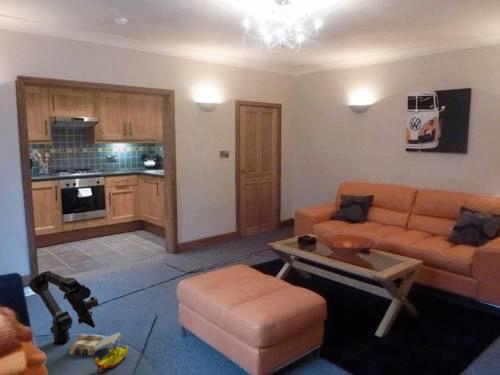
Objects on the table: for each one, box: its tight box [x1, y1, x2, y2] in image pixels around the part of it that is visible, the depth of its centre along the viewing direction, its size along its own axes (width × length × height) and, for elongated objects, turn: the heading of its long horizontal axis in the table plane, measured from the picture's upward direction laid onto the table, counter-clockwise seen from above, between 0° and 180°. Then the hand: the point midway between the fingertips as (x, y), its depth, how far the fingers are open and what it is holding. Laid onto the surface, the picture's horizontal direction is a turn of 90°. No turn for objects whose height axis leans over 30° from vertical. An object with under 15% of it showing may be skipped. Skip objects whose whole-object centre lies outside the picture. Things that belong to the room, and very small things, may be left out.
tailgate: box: [94, 332, 123, 352], centre depth 199 cm, size 2×10×12 cm
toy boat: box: [94, 343, 129, 374], centre depth 186 cm, size 6×18×10 cm, turn 152°
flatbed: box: [68, 333, 103, 356], centre depth 199 cm, size 12×11×5 cm
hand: (94, 327), depth 201 cm, fingers closed
